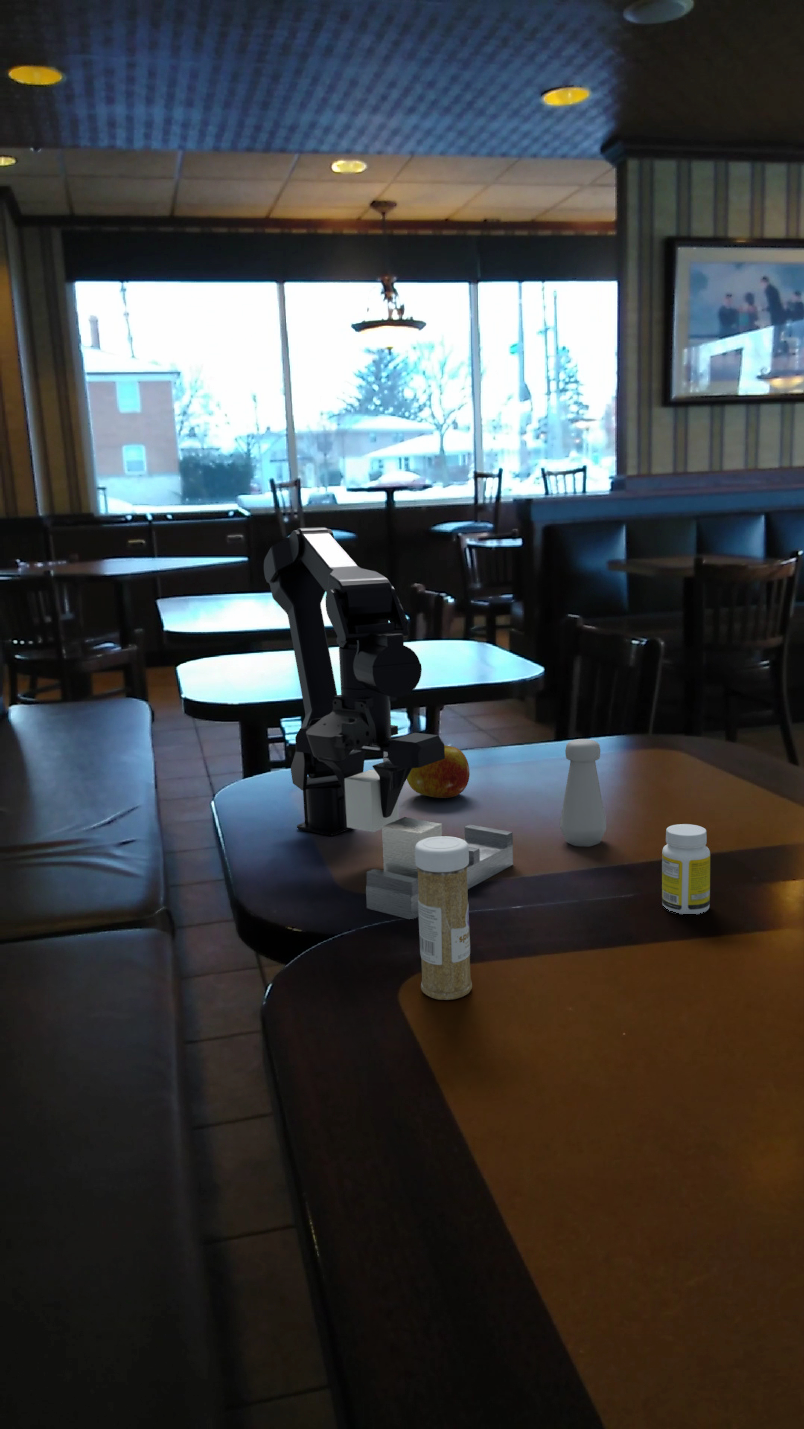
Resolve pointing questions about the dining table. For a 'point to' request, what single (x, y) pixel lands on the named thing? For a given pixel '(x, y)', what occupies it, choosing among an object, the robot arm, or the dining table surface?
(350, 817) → the matte gray box
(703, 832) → the supplement bottle
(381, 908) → the rail
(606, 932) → the dining table surface
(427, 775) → the fruit
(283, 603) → the robot arm
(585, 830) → the salt shaker
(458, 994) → the spice jar
